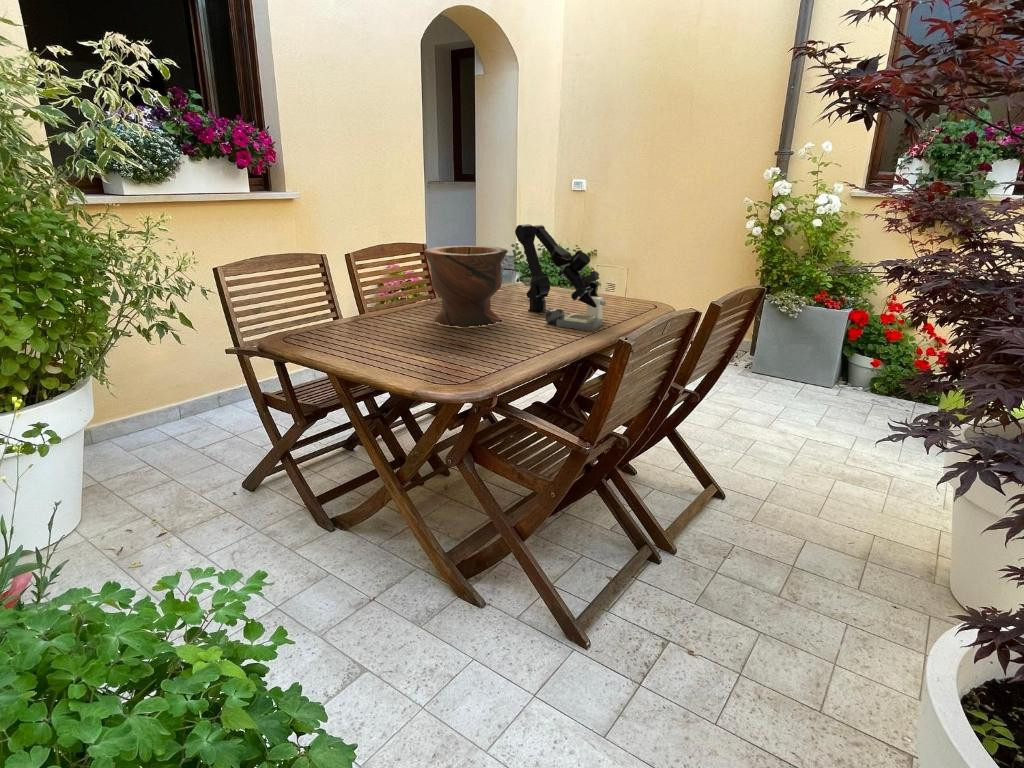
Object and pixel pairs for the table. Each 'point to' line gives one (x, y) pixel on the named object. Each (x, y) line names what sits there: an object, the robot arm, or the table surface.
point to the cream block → (598, 310)
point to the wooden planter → (466, 283)
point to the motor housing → (572, 320)
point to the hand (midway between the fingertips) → (598, 305)
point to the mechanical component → (526, 282)
